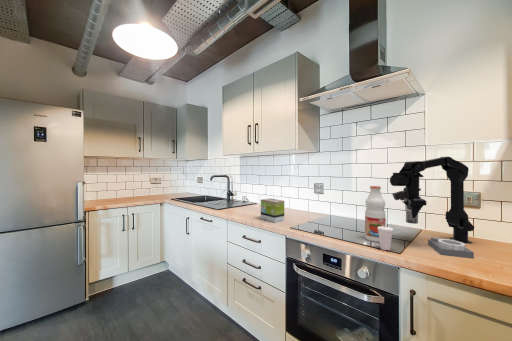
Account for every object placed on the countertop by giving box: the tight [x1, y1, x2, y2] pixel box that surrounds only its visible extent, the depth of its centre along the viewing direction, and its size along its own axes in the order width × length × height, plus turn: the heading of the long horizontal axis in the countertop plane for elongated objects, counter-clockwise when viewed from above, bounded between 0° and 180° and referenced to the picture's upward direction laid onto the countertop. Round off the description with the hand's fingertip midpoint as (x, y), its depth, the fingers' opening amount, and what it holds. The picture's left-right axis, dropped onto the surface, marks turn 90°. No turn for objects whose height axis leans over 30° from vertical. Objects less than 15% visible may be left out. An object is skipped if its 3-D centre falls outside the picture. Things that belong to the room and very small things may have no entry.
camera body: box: [427, 236, 475, 259], centre depth 99 cm, size 14×11×4 cm
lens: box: [405, 205, 419, 225], centre depth 110 cm, size 5×5×8 cm
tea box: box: [260, 198, 285, 224], centre depth 157 cm, size 15×10×15 cm, turn 42°
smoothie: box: [378, 217, 394, 251], centre depth 100 cm, size 6×6×14 cm
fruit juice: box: [364, 185, 386, 243], centre depth 114 cm, size 9×9×28 cm
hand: (411, 216), depth 110 cm, fingers closed on lens, 5 cm apart
